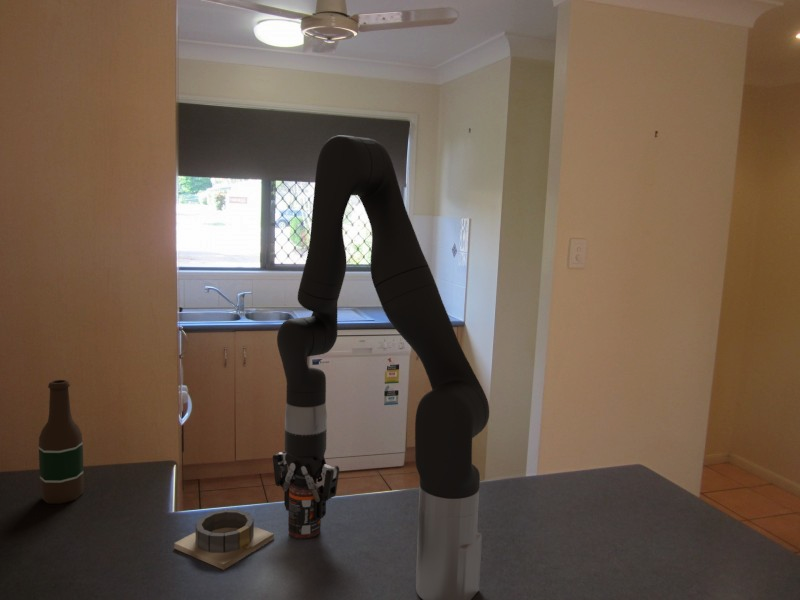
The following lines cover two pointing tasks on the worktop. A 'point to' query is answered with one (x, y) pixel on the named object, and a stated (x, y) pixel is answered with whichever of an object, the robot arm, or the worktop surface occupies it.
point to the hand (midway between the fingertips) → (304, 513)
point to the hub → (224, 538)
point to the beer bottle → (60, 450)
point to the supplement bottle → (302, 510)
